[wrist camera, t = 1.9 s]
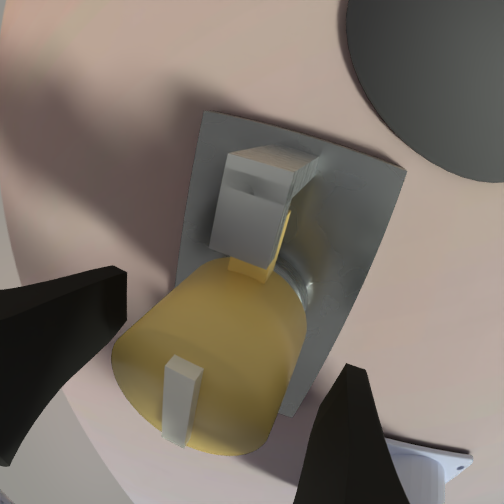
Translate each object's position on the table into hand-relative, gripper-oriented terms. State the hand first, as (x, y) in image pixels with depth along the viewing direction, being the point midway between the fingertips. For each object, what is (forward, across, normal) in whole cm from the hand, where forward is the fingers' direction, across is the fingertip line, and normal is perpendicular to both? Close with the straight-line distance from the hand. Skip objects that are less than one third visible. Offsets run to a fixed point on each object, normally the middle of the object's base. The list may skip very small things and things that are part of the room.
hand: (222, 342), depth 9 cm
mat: (+4, -5, -11) cm, 13 cm away
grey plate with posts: (+4, 0, 0) cm, 4 cm away
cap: (+2, 0, 0) cm, 2 cm away
